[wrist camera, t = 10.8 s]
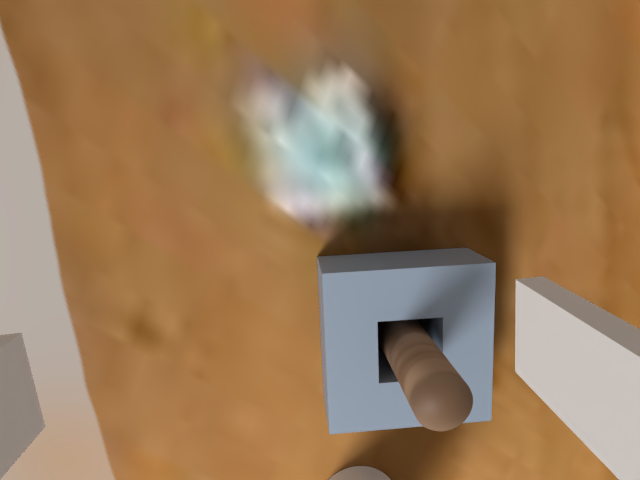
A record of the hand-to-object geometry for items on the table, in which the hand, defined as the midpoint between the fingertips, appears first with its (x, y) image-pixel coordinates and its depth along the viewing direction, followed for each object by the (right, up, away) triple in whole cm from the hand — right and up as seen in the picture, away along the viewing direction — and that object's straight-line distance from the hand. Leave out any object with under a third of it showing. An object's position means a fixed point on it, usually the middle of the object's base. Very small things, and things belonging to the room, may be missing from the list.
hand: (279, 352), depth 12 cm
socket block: (+8, -5, +31) cm, 33 cm away
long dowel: (+8, -5, +31) cm, 33 cm away
